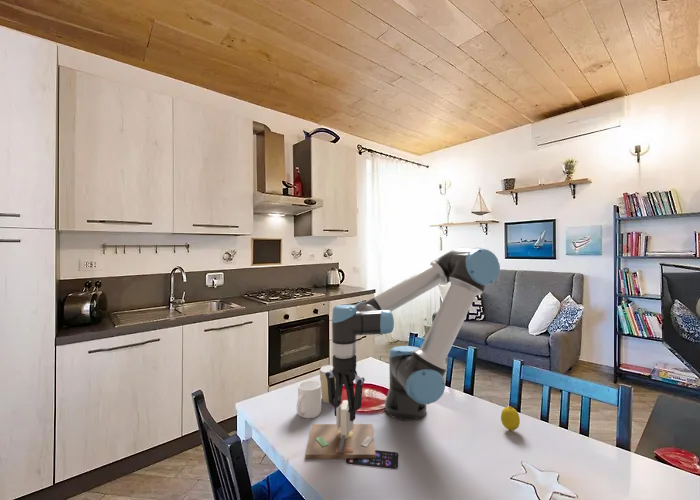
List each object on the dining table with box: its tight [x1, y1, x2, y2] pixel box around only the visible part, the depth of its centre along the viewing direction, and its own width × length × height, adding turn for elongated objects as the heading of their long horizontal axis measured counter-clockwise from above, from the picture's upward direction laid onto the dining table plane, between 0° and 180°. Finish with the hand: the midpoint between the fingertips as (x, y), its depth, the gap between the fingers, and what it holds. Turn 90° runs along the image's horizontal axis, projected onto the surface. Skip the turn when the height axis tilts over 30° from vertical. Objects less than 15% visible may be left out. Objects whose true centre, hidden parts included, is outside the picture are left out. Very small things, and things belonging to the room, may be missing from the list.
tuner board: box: [305, 423, 376, 460], centre depth 102 cm, size 20×16×1 cm
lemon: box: [500, 405, 521, 432], centre depth 108 cm, size 6×6×8 cm
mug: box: [296, 380, 322, 419], centre depth 118 cm, size 12×8×10 cm
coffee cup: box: [319, 364, 336, 404], centre depth 131 cm, size 9×9×12 cm
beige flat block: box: [339, 399, 349, 452], centre depth 101 cm, size 2×13×9 cm, turn 174°
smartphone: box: [344, 449, 400, 471], centre depth 94 cm, size 8×1×15 cm
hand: (344, 427), depth 104 cm, fingers closed on beige flat block, 3 cm apart
